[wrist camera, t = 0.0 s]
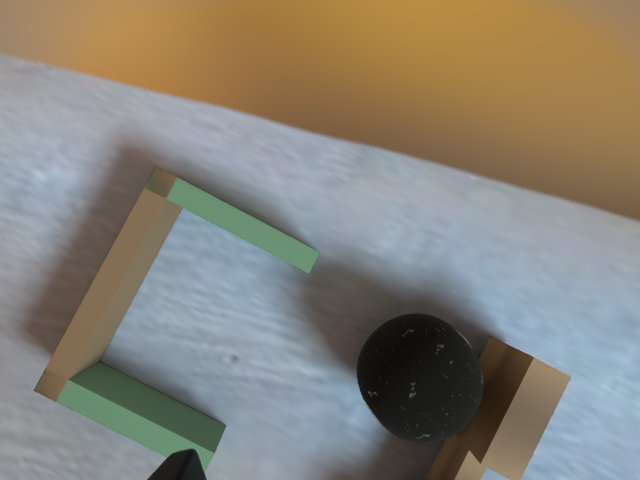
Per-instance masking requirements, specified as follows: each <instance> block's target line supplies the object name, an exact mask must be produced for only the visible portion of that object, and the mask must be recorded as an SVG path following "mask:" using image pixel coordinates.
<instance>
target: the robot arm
mask: <svg viewBox="0 0 640 480" xmlns="http://www.w3.org/2000/svg"><path fill="white" fill-rule="evenodd" d="M147 480H207V479H206V476H205V473H204V470H203V467H202V464H201V461H200V458H199V455H198V453H197V451H196V450H195V449H193V448H190V449H185V450H181V451H177V452H174V453H172V454H171V455H170V456H169V457H168V458H167V459H166V460H165V461H164V462H163V463H162V464H161V465H160V466H159V467H158V469H157V470H156V471H155V472H154V473H153V474H152V475H151V476H150V477H149V478H148V479H147Z"/></svg>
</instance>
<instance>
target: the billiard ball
mask: <svg viewBox="0 0 640 480" xmlns="http://www.w3.org/2000/svg"><path fill="white" fill-rule="evenodd" d="M357 379H358V384H359V388H360V392H361V394H362V397H363V399H364V401H365V403H366V405H367V407H368V409H369V410H370V412H371V413H372V414H373V416H374V417H375V418H376V419H377V421H378V422H379V423H380V424H381V425H382V426H384V427H385V428H386V429H387V430H388V431H390V432H391V433H393V434H394V435H396V436H398V437H400V438H402V439H405V440H407V441H411V442H416V443H433V442H438V441H442V440H445V439H447V438H449V437H452V436H453V435H455V434H457V433H458V432H460V431H461V430H462V429H463V428H464V427H465V426H466V425H467V424H468V423H469V422H470V421H471V420H472V418H473V417H474V415H475V414H476V412H477V410H478V408H479V405H480V403H481V399H482V395H483V375H482V370H481V366H480V363H479V361H478V358H477V356H476V354H475V352H474V351H473V349H472V347H471V346H470V344H469V343H468V342H467V340H466V339H465V338H464V337H463V336H462V335H461V334H460V333H459V332H458V331H457V330H456V329H455V328H453V327H452V326H451V325H449V324H448V323H446V322H445V321H443V320H441V319H439V318H436V317H434V316H431V315H426V314H407V315H402V316H399V317H396V318H394V319H391V320H389V321H388V322H386V323H384V324H383V325H381V326H380V327H379V328H378V329H377V330H375V331H374V332H373V334H372V335H371V336H370V337H369V338H368V340H367V341H366V343H365V344H364V346H363V348H362V350H361V353H360V356H359V359H358V364H357Z"/></svg>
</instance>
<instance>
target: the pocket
mask: <svg viewBox="0 0 640 480" xmlns="http://www.w3.org/2000/svg"><path fill="white" fill-rule="evenodd" d="M182 208H185V209H186V210H188V211H190V212H192V213H194V214H196V215H198V216H200V217H202V218H204V219H206V220H207V221H209V222H211V223H213V224H215V225H217V226H219V227H221V228H223V229H225V230H227V231H228V232H230V233H232V234H234V235H236V236H238V237H240V238H242V239H244V240H246V241H248V242H249V243H251V244H253V245H255V246H257V247H259V248H261V249H263V250H265V251H267V252H269V253H271V254H272V255H274V256H276V257H278V258H280V259H282V260H284V261H286V262H288V263H290V264H292V265H293V266H295V267H297V268H299V269H301V270H303V271H305V272H307V273H309V272H310V271H311V269H312V267H313V265H314V263H315V261H316V259H317V257H318V255H319V253H320V252H318V251H316V250H314V249H313V248H311V247H309V246H307V245H305V244H303V243H301V242H299V241H297V240H295V239H294V238H292V237H290V236H288V235H286V234H284V233H282V232H280V231H278V230H276V229H275V228H273V227H271V226H269V225H267V224H265V223H263V222H261V221H259V220H257V219H255V218H254V217H252V216H250V215H248V214H246V213H244V212H242V211H240V210H238V209H236V208H235V207H233V206H231V205H229V204H227V203H225V202H223V201H221V200H219V199H217V198H216V197H214V196H212V195H210V194H208V193H206V192H204V191H202V190H200V189H198V188H197V187H195V186H193V185H191V184H189V183H187V182H185V181H183V180H181V179H179V178H178V177H176V176H174V175H172V174H170V173H168V172H166V171H164V170H162V169H160V168H158V167H157V166H156V167H155V169H154V170H153V172H152V174H151V176H150V178H149V180H148V181H147V183H146V185H145V187H144V189H143V191H142V192H141V194H140V196H139V198H138V200H137V202H136V203H135V205H134V207H133V209H132V211H131V213H130V214H129V216H128V218H127V220H126V222H125V224H124V226H123V227H122V229H121V231H120V233H119V235H118V237H117V238H116V240H115V242H114V244H113V246H112V248H111V249H110V251H109V253H108V255H107V257H106V259H105V260H104V262H103V264H102V266H101V268H100V270H99V271H98V273H97V275H96V277H95V279H94V281H93V282H92V284H91V286H90V288H89V290H88V292H87V293H86V295H85V297H84V299H83V301H82V303H81V304H80V306H79V308H78V310H77V312H76V314H75V315H74V317H73V319H72V321H71V323H70V325H69V326H68V328H67V330H66V332H65V334H64V336H63V338H62V339H61V341H60V343H59V345H58V347H57V349H56V350H55V352H54V354H53V356H52V358H51V360H50V361H49V363H48V365H47V367H46V369H45V371H44V372H43V374H42V376H41V378H40V380H39V382H38V383H37V385H36V387H35V389H34V391H35V392H37V393H39V394H41V395H43V396H45V397H47V398H49V399H51V400H53V401H55V402H57V403H59V404H61V405H63V406H65V407H67V408H69V409H71V410H73V411H75V412H77V413H79V414H81V415H83V416H85V417H87V418H89V419H91V420H93V421H95V422H97V423H99V424H101V425H103V426H105V427H107V428H109V429H111V430H114V431H116V432H118V433H120V434H122V435H124V436H126V437H128V438H130V439H132V440H134V441H136V442H138V443H140V444H142V445H144V446H146V447H148V448H150V449H152V450H154V451H156V452H158V453H160V454H162V455H164V456H166V457H169V456H170V455H171V454H172V453H174V452H177V451H181V450H185V449H190V448H193V449H195V450H196V451H197V453H198V455H199V458H200V461H201V464H202V467H203V470H204V472H205V471H206V469H207V467H208V465H209V463H210V461H211V459H212V457H213V455H214V453H215V451H216V449H217V446H218V444H219V442H220V439H221V437H222V434H223V432H224V430H225V427H226V425H224V424H222V423H220V422H218V421H216V420H214V419H212V418H210V417H208V416H206V415H204V414H202V413H200V412H198V411H196V410H194V409H192V408H190V407H188V406H186V405H184V404H182V403H180V402H178V401H176V400H174V399H172V398H170V397H168V396H166V395H164V394H162V393H160V392H158V391H156V390H154V389H152V388H150V387H149V386H147V385H145V384H143V383H141V382H139V381H137V380H135V379H133V378H131V377H129V376H127V375H125V374H123V373H121V372H119V371H117V370H115V369H113V368H111V367H109V366H107V365H105V364H103V363H101V362H99V361H100V360H101V358H102V356H103V354H104V352H105V350H106V348H107V347H108V345H109V343H110V341H111V339H112V337H113V336H114V334H115V332H116V330H117V328H118V326H119V324H120V323H121V321H122V319H123V317H124V315H125V313H126V311H127V310H128V308H129V306H130V304H131V302H132V300H133V298H134V297H135V295H136V293H137V291H138V289H139V287H140V286H141V284H142V282H143V280H144V278H145V276H146V274H147V273H148V271H149V269H150V267H151V265H152V263H153V261H154V260H155V258H156V256H157V254H158V252H159V250H160V248H161V247H162V245H163V243H164V241H165V239H166V237H167V236H168V234H169V232H170V230H171V228H172V226H173V224H174V223H175V221H176V219H177V217H178V215H179V213H180V211H181V210H182Z"/></svg>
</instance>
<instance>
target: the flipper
mask: <svg viewBox="0 0 640 480" xmlns="http://www.w3.org/2000/svg"><path fill="white" fill-rule="evenodd" d="M478 361H479V363H480V366H481V370H482V375H483V395H482V399H481V403H480V405H479V408H478V410H477V412H476V414H475V415H474V417H473V418H472V420H471V421H470V422H469V423H468V424H467V425H466V426H465V427H464V428H463V429H462V430H461V431H460V432H458V433H457V434H455V435H453V436H452V437H449V438H447V439H446V440H445V442H444V444H443V446H442V448H441V450H440V452H439V454H438V456H437V458H436V460H435V462H434V464H433V466H432V468H431V470H430V472H429V474H428V476H427V478H426V480H480V479H481V477H482V475H483V473H484V471H485V469H486V467H487V468H489V469H491V470H493V471H495V472H497V473H499V474H501V475H502V476H504V477H506V478H508V479H510V480H520V479H521V477H522V475H523V473H524V471H525V469H526V467H527V465H528V463H529V461H530V459H531V457H532V455H533V453H534V451H535V449H536V447H537V445H538V443H539V441H540V439H541V437H542V435H543V433H544V431H545V429H546V427H547V425H548V423H549V421H550V419H551V417H552V415H553V413H554V411H555V409H556V407H557V405H558V403H559V400H560V398H561V396H562V394H563V392H564V390H565V388H566V386H567V384H568V382H569V380H570V378H571V377H570V376H568V375H566V374H565V373H563V372H561V371H559V370H557V369H555V368H553V367H551V366H549V365H547V364H546V363H544V362H542V361H540V360H538V359H536V358H534V357H532V356H530V355H528V354H526V353H524V352H522V351H520V350H518V349H516V348H514V347H511V346H509V345H507V344H505V343H503V342H501V341H499V340H497V339H495V338H493V337H491V336H490V338H489V340H488V342H487V344H486V346H485V348H484V350H483V352H482V354H481V356H480V358H479V360H478Z"/></svg>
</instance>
